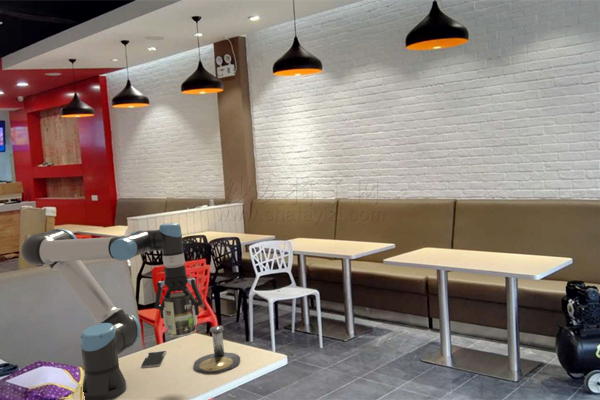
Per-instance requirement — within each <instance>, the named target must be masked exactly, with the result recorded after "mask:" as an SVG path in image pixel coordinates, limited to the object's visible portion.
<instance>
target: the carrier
mask: <svg viewBox="0 0 600 400" xmlns="http://www.w3.org/2000/svg"><path fill="white" fill-rule="evenodd" d="M209 330H210V333H211V334H212V345H213V353H209V354H206V355H203V356H201V357H199V358H198V359H196V360H195V361H194V362H193V368H194V370H195V371H196V372H199V373H203V374H204V373H205V374H217V373H222V372H226V371H230V370H232V369H234V368H235V367H237V366H238V365H240V363H241V356H240V355H238V354H237V353H233V352H225V349H224V348H225V347H224V346H225V345H224V338H223V337H224V335H223V331H224V326H223V325H215V326H212V327H210V328H209Z"/></svg>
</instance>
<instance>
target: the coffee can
mask: <svg viewBox="0 0 600 400" xmlns="http://www.w3.org/2000/svg"><path fill="white" fill-rule="evenodd" d="M192 295H193V293H192V292H191V294H190V295H188V296H186V295H185V293H183V291H176V292H171V294H170V296H169V297H167V298H166V297H165V295H164V296H163V297H162V299H164V304H165V307H164V309H165V313H166V322H167V328H166V329H167V336H168V337H170V338H183V337H187V336H191V335H192V334H194V333H196V331H197V329H196V328H197V327H196V325H194V320H193V311H192V307H193V306H194V305H193V304H192V303H191V296H192Z"/></svg>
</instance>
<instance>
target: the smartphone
mask: <svg viewBox="0 0 600 400" xmlns="http://www.w3.org/2000/svg"><path fill="white" fill-rule="evenodd" d="M166 355H167V350H159V351H150V352H147V354H146V356H145V358H144V360H143V362H142V364H141V368H142V369H144V368H153V367H160V366H162V364H163V362H164V360H165V357H166Z"/></svg>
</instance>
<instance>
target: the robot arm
mask: <svg viewBox="0 0 600 400" xmlns="http://www.w3.org/2000/svg"><path fill="white" fill-rule="evenodd" d="M154 251H156V252H157V251H161V254H162V260H163V261H162V262H163V266H164V268H163V271H164V278H165V279H164V280H159V281H158V282H157V283H156V287H157V291H156V297H155V302H154V309H155V310H159V312H160V318H161V319H163V323H164V328H165V329H167V322H166V313H165V304H164V299H163V298H162V294H163V288H164V286H166V287H167V290H166V293H165V295H164V296H165V297H166V298H167V297H169V296H170V294H171V293H176V292H183V293H185V295H186V296H188V295H190V294H191V293H192V292H193V293H194V295H193V294H192V296H191V303H192V304H193V307H192V311H193V320H194V325H195V326H197V324H198V316H199V315H200V309H199V308H200V306H201V305H203V303H204V300H203V297H202V295H201V293H200V290H199V288H198V286H197V279H196V278H195V277H193V278H188V277H187V270H186V265H185V263H186V261H185V252H184V245H183V233H182V228H181V224H180V223H178V222H169V223H163V224H160V225H159V228H158V229H154V230H138V231H137V230H136V231H135V230H134V231H133V232H131V233H130V235H126V236H115V237H114V236H112V237H110V236H109V237H95V238H93V237H91V238H90V237H89V238H77V236H76V235H75V234H74V233H73V232H72V231H70V230H68V229H65V228H54V229H51V230H48V231H45V232H41V233H34V234H32V235H30V236H28V237H27V238H26V239H25V240H24V241H23V242H22V244H21V248H20V252H21V253H20V254H21V257H22V259H23V260H24V261H25V262H26V263H28V264H29V265H32V266H46V265H48V266H49V268H50V269H51V270H52V271H53V272H54V271H55V272H59V273H60V275H61V277H63V279H64V280H65V282H66V283H67V284H68V286H69V287H70V289H71V290H72V291H73V292H74V294H75V295H76V296H77V298H78V299H79V301H80V302H81V303H82V305H83V306H84V307H85V309H86V310H87V311H88V313H89V314H90V315H91V318H92V319H93V320H94V321H95V325H91V326H89V327H87V328H86V329H84V330H83V331H82V332H81V335H80V345H79V346H80V348H81V349H80V350H81V354H82V355H81V356H82V363H83V372H84V377H83V382H82V385H83V392H84V396H85V400H109V399H113V398H115V397H117V396H120V395H121V394H123V393H124V392H125V391H126V390H127V380H126V379H125V376H124V374H123V373H122V371H121V369H120V364H119V355H120V354H121V353H123V352H124V351H126V350H127V349H128V348H131V347H132V346H133V345H134V344H135V343H136V342H137V341H138V340H139V338H140V336H141V331H142V328H141V324H140V322H139V320H138V318H137V317H136V316H135V315H133V314H129V313H126V312H125V311H124V309H123V308H120V307H116V306H115V305H114V303H113V302H112V301H111V298H109V296H108V295H107V294H106V292H105V291H104V290H103V288H102V287H101V286H100V284H99V282H97V280H96V279H95V278H94V276H93V275H92V273H91V271H89V269H88V268H87V266H86V265H85V264H84V263H83V261H90V260H91V261H92V260H94V261H96V260H114V259H115V260H118V261H123V262H124V261H127V260H131V259H133V258H135V257H137V256H139V255H143V254H144V253H147V252H154ZM187 284H189V285H190V286H191V289H192V291H190V290H189V288H188V287H187ZM161 299H163V300H162V302H161Z"/></svg>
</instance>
